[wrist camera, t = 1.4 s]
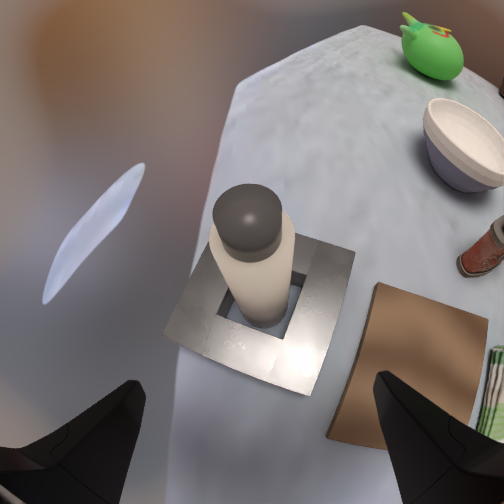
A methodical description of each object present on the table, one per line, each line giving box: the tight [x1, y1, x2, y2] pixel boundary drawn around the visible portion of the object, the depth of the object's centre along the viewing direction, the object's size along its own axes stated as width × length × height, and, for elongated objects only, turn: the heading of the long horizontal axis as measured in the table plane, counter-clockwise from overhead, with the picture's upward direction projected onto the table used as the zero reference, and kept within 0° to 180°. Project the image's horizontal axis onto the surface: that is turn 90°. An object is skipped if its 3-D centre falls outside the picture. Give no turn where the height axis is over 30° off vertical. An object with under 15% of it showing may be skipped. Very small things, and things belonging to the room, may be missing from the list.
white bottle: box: [209, 184, 295, 328], centre depth 17 cm, size 4×4×14 cm
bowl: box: [423, 98, 504, 193], centre depth 25 cm, size 14×14×8 cm
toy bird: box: [400, 12, 464, 80], centre depth 37 cm, size 18×17×15 cm
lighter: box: [456, 216, 504, 278], centre depth 18 cm, size 8×3×10 cm, turn 98°
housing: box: [162, 233, 355, 396], centre depth 22 cm, size 12×12×3 cm
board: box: [326, 282, 488, 450], centre depth 18 cm, size 14×14×1 cm
